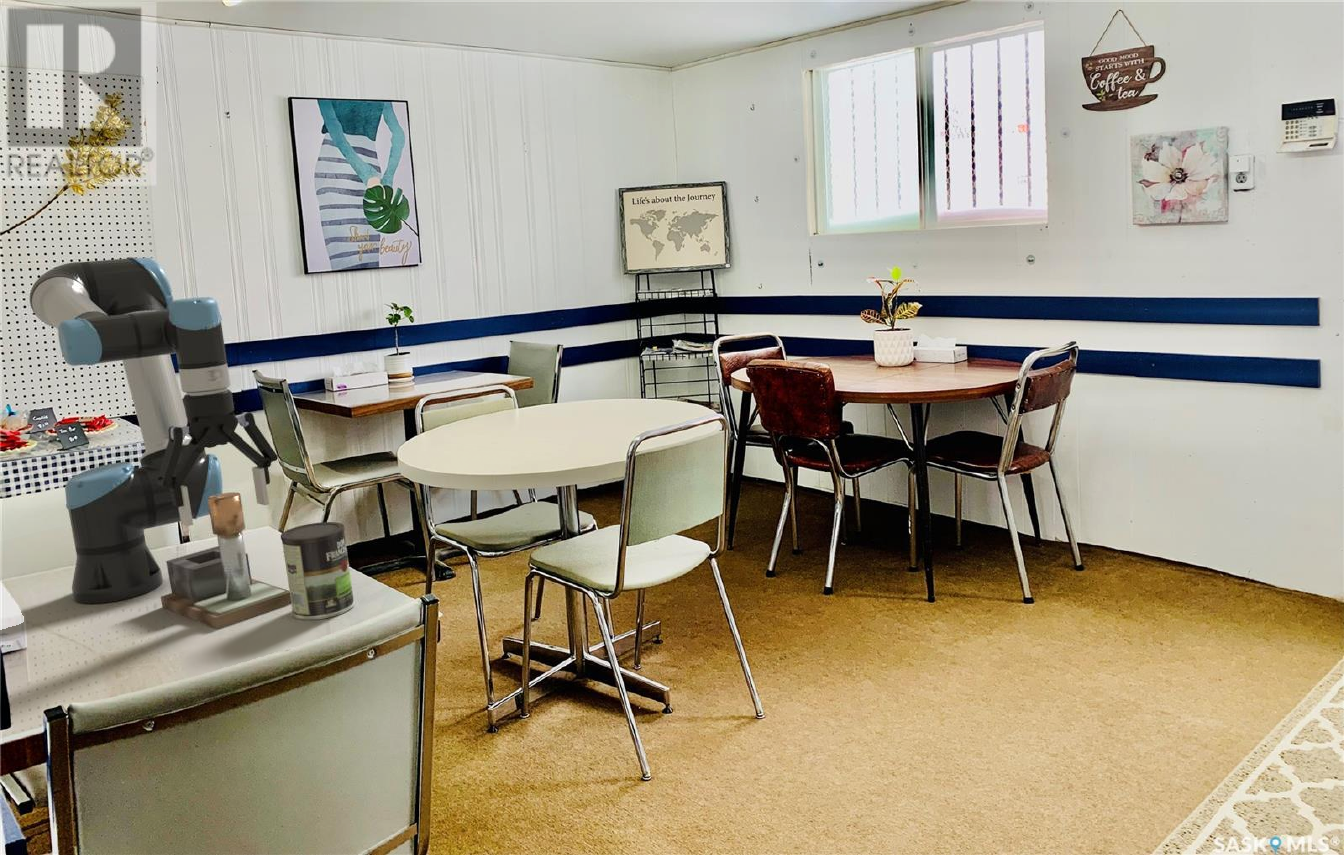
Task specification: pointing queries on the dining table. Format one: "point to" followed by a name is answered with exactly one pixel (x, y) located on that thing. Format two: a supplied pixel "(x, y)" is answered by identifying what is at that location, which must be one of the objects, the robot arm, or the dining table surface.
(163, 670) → the dining table surface
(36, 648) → the dining table surface
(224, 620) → the board
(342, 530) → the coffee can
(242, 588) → the peg
